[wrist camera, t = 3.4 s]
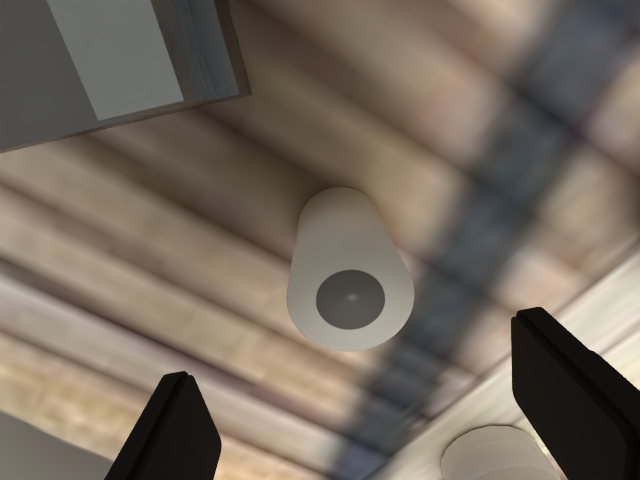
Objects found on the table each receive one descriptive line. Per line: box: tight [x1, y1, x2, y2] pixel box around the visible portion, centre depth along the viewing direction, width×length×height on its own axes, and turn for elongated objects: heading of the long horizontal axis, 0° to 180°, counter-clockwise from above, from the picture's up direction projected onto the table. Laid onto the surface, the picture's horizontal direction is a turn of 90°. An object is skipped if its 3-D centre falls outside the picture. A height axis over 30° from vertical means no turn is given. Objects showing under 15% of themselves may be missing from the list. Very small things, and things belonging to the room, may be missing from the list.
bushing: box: [287, 187, 414, 351], centre depth 17 cm, size 5×5×8 cm
